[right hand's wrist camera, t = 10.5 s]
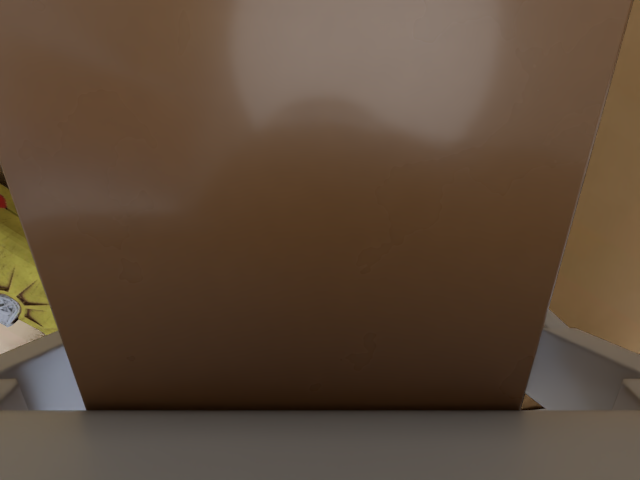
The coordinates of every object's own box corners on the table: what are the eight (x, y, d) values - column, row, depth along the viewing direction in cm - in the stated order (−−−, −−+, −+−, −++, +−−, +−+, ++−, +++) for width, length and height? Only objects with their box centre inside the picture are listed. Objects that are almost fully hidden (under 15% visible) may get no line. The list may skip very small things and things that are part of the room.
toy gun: (128, 469, 31) (235, 383, 26) (-209, 314, 24) (-158, 145, 18) (151, 418, 36) (248, 335, 30) (-130, 272, 28) (-69, 124, 22)
